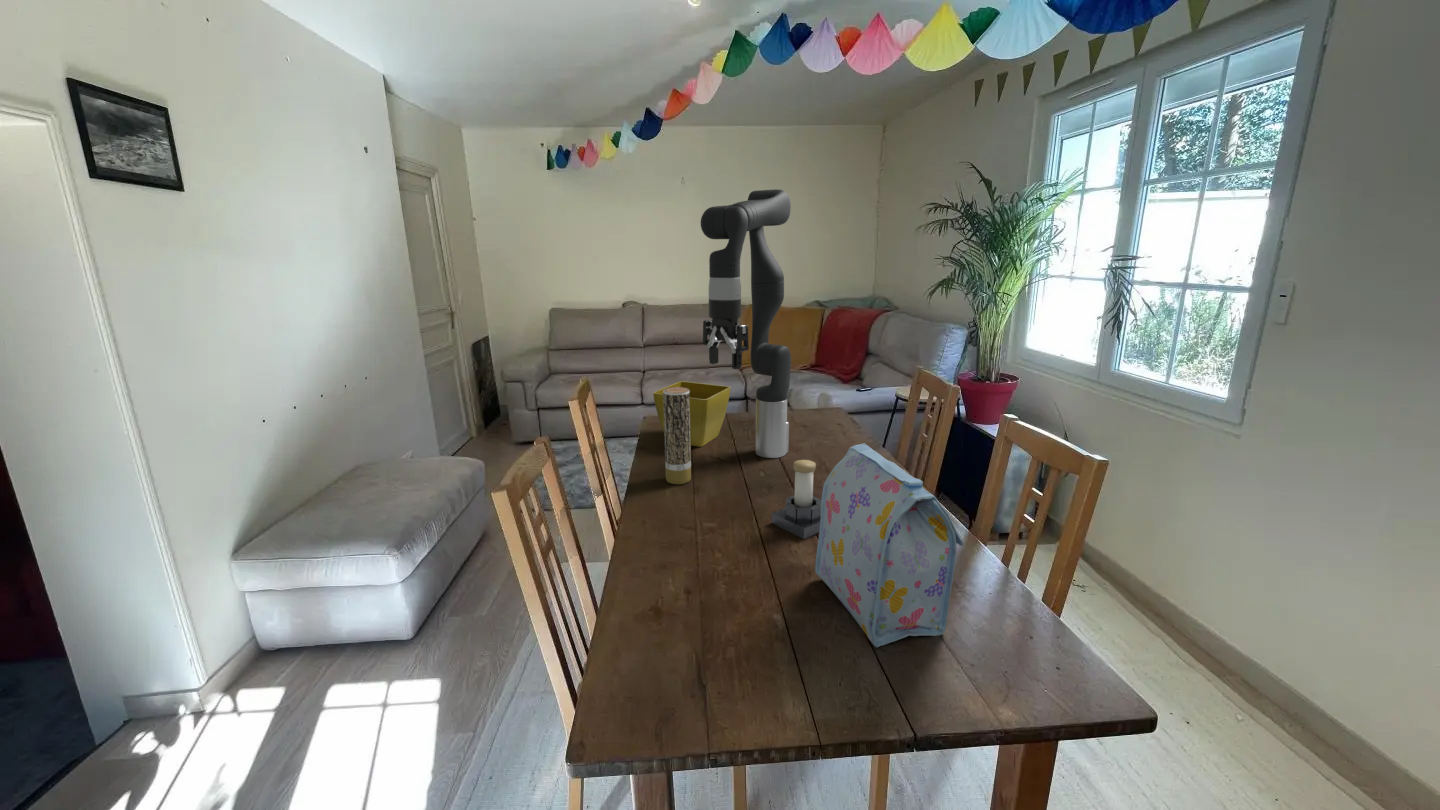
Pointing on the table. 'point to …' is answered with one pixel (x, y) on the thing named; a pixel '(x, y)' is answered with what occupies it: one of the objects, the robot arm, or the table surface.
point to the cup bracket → (799, 518)
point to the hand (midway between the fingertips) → (725, 366)
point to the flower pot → (700, 409)
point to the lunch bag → (886, 548)
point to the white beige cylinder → (804, 482)
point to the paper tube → (677, 435)
